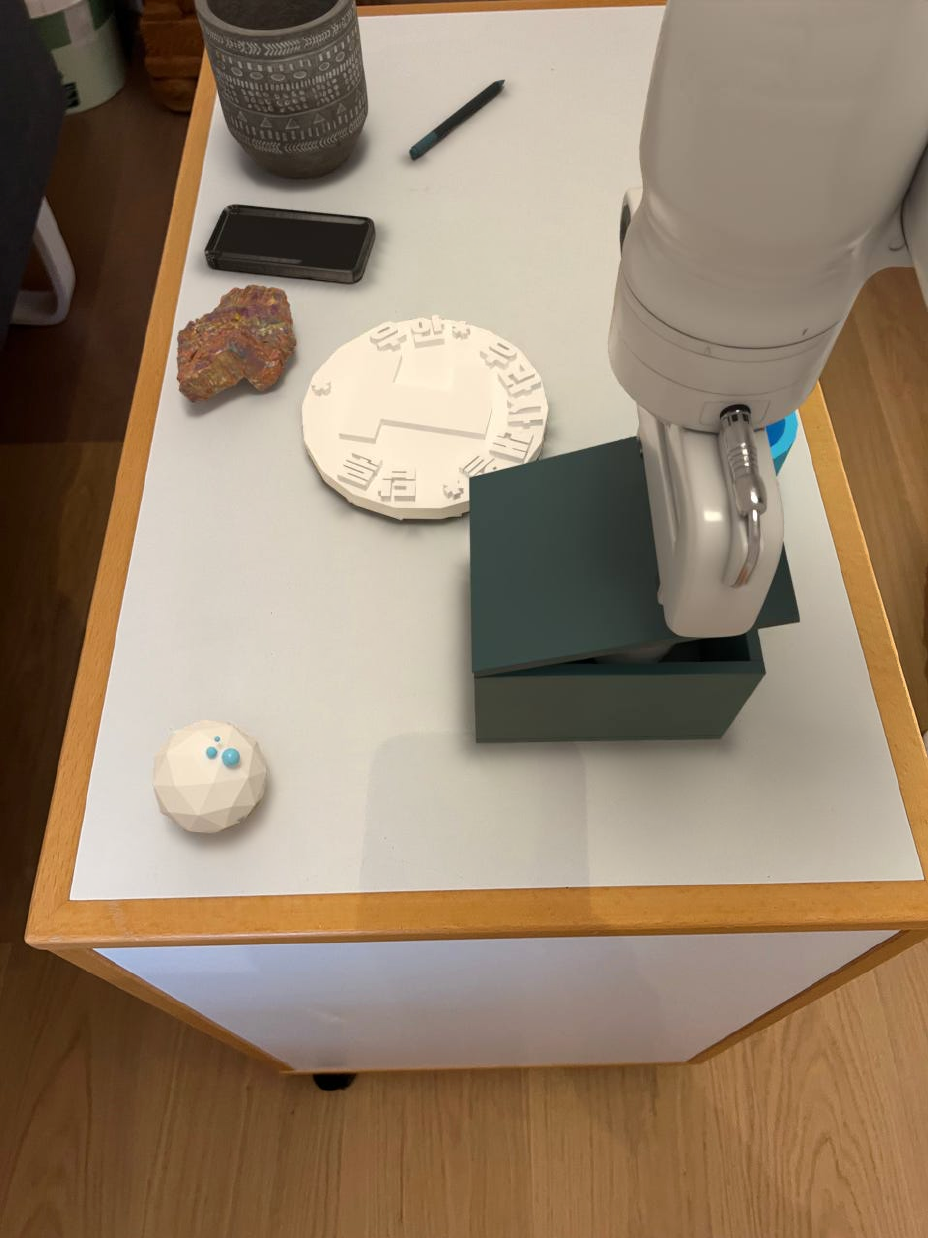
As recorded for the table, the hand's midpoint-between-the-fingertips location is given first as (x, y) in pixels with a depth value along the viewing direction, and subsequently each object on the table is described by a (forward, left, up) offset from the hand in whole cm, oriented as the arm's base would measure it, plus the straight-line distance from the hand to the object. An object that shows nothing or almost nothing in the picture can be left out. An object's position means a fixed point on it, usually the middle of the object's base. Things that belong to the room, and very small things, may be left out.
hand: (661, 518), depth 47 cm
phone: (+27, -43, -17) cm, 53 cm away
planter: (+27, -58, -17) cm, 66 cm away
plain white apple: (0, 0, -16) cm, 16 cm away
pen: (+11, -62, -17) cm, 65 cm away
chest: (+2, 0, -17) cm, 17 cm away
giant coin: (+14, -21, -17) cm, 30 cm away
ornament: (+27, +10, -17) cm, 33 cm away
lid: (+2, 0, -3) cm, 3 cm away
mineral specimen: (+30, -28, -17) cm, 44 cm away
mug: (-9, -16, -17) cm, 25 cm away
